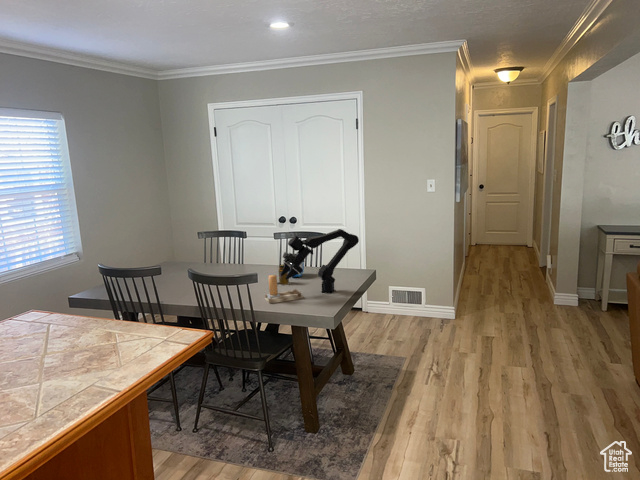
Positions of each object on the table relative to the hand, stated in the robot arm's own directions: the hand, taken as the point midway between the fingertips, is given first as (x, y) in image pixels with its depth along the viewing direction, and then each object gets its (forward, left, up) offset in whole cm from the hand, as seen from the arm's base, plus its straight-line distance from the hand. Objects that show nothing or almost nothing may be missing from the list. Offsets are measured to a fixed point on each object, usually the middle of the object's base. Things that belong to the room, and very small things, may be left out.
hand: (283, 277), depth 261 cm
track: (0, 0, -12) cm, 13 cm away
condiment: (+19, -26, -13) cm, 35 cm away
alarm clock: (+20, -44, -13) cm, 50 cm away
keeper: (+4, +5, -11) cm, 13 cm away
